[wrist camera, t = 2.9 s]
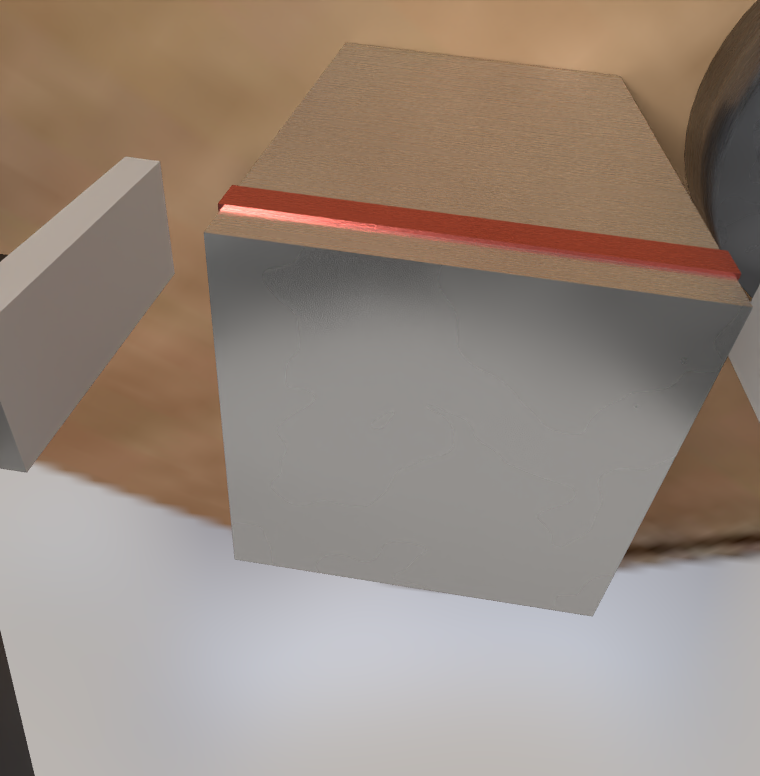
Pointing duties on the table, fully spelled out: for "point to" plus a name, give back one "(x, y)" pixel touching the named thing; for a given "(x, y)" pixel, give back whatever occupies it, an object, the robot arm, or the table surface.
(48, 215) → the table surface
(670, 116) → the table surface
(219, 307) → the red-striped grey block
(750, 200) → the ratchet
